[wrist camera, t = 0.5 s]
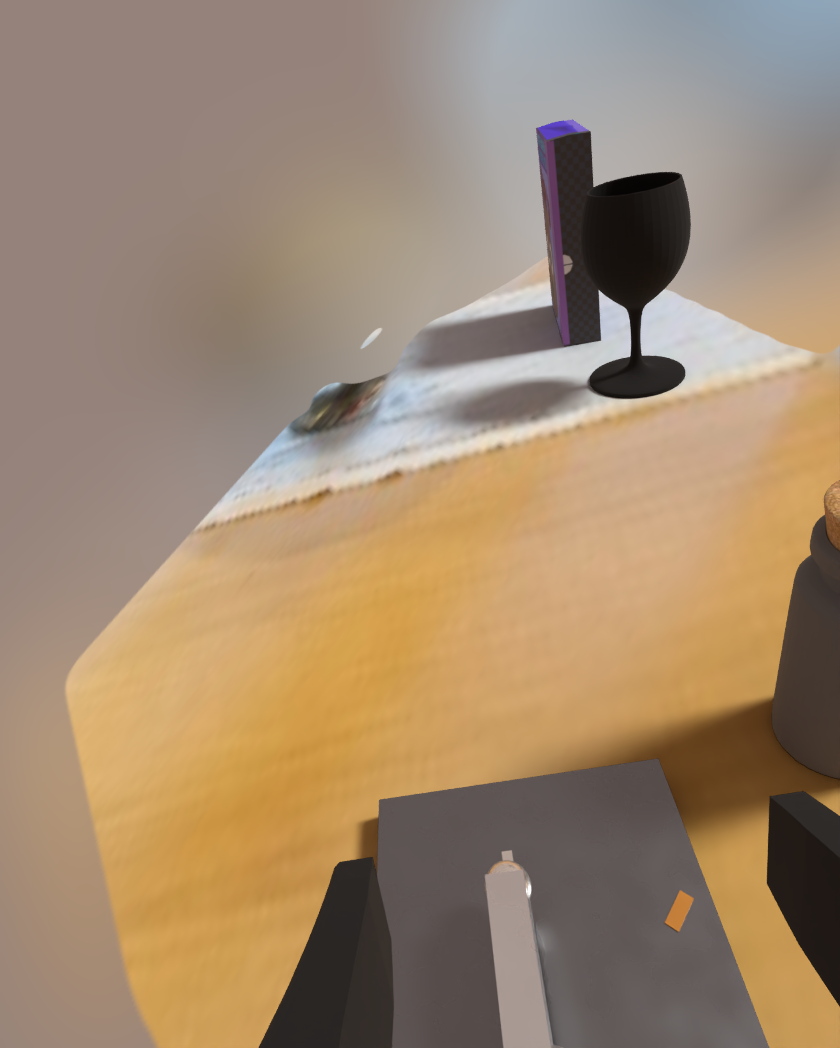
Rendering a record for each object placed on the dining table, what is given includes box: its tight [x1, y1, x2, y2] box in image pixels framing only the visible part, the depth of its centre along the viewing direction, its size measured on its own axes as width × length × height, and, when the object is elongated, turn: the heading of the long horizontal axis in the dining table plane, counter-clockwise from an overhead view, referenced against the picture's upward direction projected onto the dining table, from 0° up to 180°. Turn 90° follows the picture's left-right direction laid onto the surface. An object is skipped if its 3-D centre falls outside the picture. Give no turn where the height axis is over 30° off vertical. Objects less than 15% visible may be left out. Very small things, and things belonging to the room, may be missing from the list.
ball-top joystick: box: [484, 860, 563, 1048], centre depth 23 cm, size 12×6×4 cm, turn 2°
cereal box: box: [536, 120, 601, 347], centre depth 83 cm, size 17×5×24 cm, turn 175°
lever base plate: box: [377, 759, 769, 1048], centre depth 25 cm, size 20×15×2 cm
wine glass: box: [580, 172, 691, 398], centre depth 66 cm, size 10×10×20 cm
